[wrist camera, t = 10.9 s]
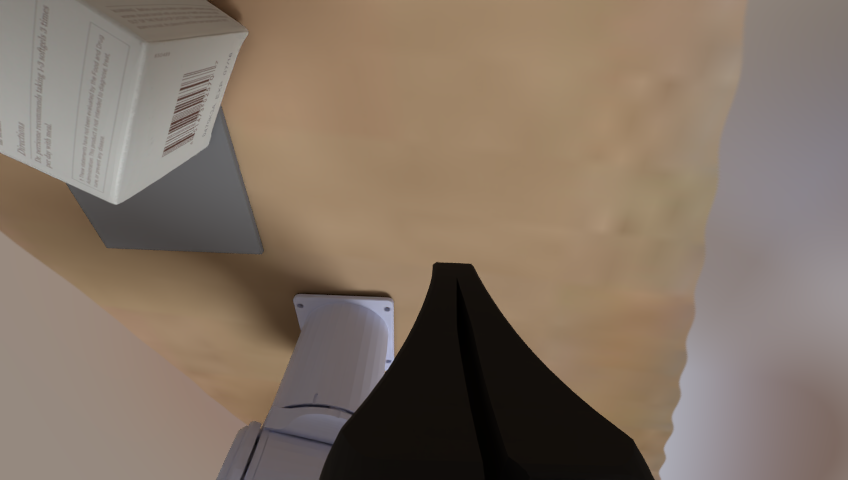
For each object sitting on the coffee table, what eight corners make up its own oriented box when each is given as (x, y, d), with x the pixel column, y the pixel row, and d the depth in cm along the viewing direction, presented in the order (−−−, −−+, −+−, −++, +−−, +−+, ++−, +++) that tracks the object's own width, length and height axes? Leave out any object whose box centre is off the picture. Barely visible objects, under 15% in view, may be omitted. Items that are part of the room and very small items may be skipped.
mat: (263, 251, 24) (261, 254, 24) (111, 244, 24) (106, 247, 24) (162, -93, 14) (156, -95, 13) (-108, -109, 14) (-121, -112, 13)
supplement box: (254, 28, 16) (-100, -227, 12) (149, 44, 10) (-672, -474, 6) (211, 148, 19) (-72, -13, 15) (114, 213, 13) (-405, -22, 9)
